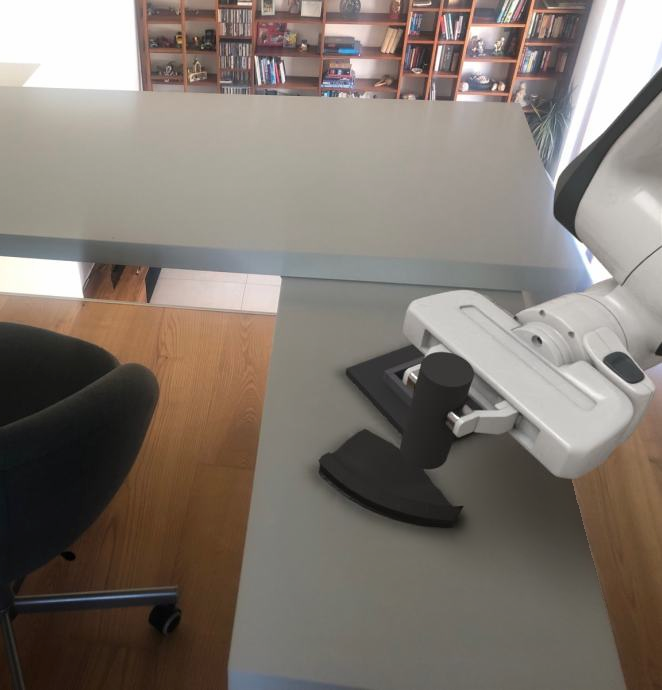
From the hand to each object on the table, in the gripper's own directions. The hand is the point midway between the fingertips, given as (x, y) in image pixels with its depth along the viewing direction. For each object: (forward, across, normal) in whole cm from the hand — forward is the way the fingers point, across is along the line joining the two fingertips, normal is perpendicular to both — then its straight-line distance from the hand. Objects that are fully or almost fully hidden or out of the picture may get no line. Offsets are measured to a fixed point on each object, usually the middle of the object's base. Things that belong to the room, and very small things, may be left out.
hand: (429, 403), depth 56 cm
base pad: (-14, -13, +17) cm, 26 cm away
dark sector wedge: (-2, -5, +17) cm, 18 cm away
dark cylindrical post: (-1, 0, +6) cm, 7 cm away
